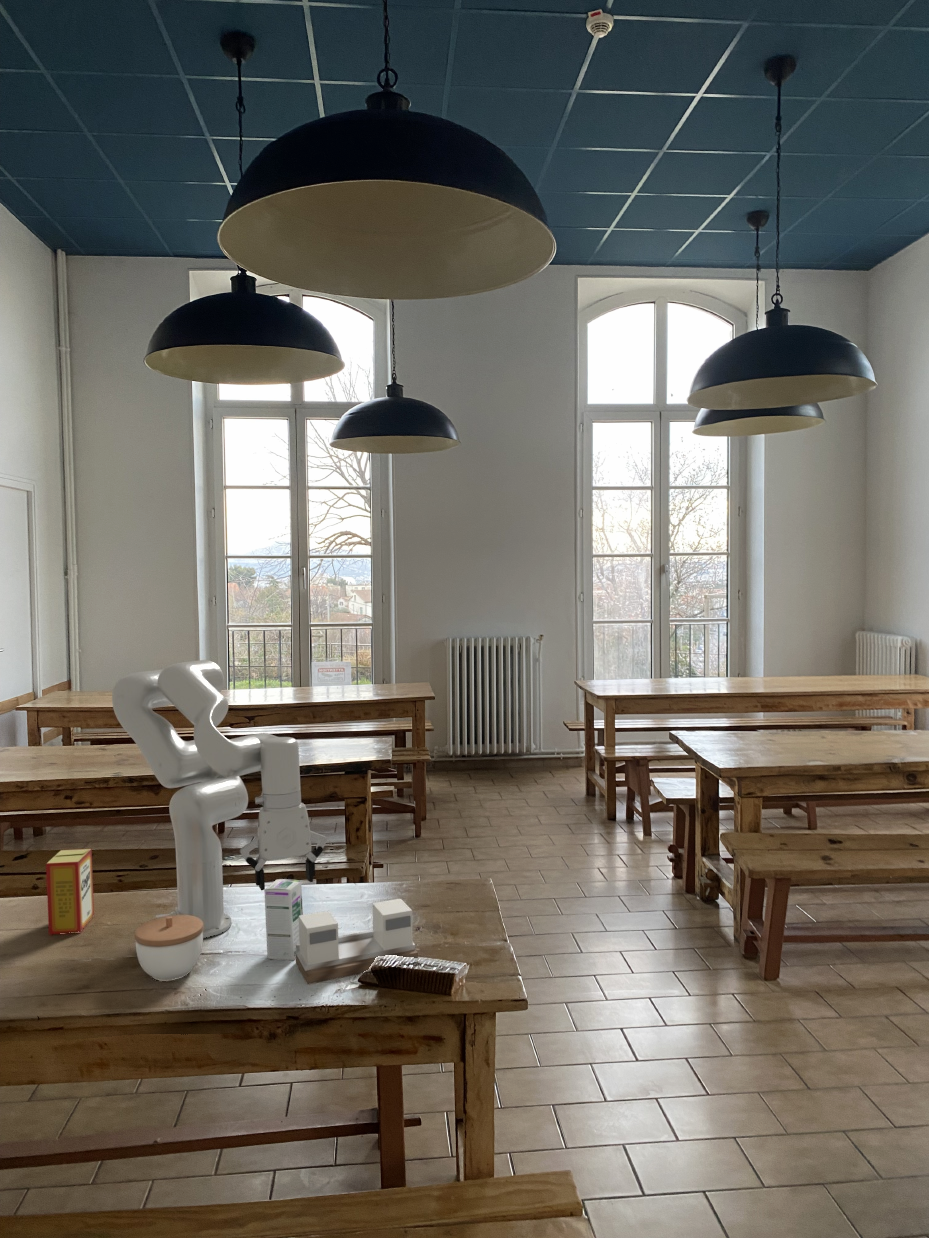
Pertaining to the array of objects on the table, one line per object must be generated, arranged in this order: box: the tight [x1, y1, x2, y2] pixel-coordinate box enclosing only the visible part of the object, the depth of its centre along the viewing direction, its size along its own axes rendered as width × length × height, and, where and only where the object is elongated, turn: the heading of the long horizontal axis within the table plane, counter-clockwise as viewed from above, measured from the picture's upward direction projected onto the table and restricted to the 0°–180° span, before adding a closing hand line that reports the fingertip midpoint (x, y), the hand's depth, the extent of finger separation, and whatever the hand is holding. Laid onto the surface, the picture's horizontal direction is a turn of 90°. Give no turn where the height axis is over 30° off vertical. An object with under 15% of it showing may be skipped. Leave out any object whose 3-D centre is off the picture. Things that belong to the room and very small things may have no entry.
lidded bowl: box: [134, 915, 204, 980], centre depth 171 cm, size 13×13×11 cm
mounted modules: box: [299, 898, 414, 965], centre depth 173 cm, size 21×7×7 cm, turn 113°
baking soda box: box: [45, 848, 95, 936], centre depth 195 cm, size 10×6×16 cm
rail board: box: [295, 929, 419, 985], centre depth 174 cm, size 22×10×4 cm, turn 113°
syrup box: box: [263, 878, 304, 962], centre depth 178 cm, size 6×6×14 cm
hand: (285, 884), depth 177 cm, fingers open, 9 cm apart
